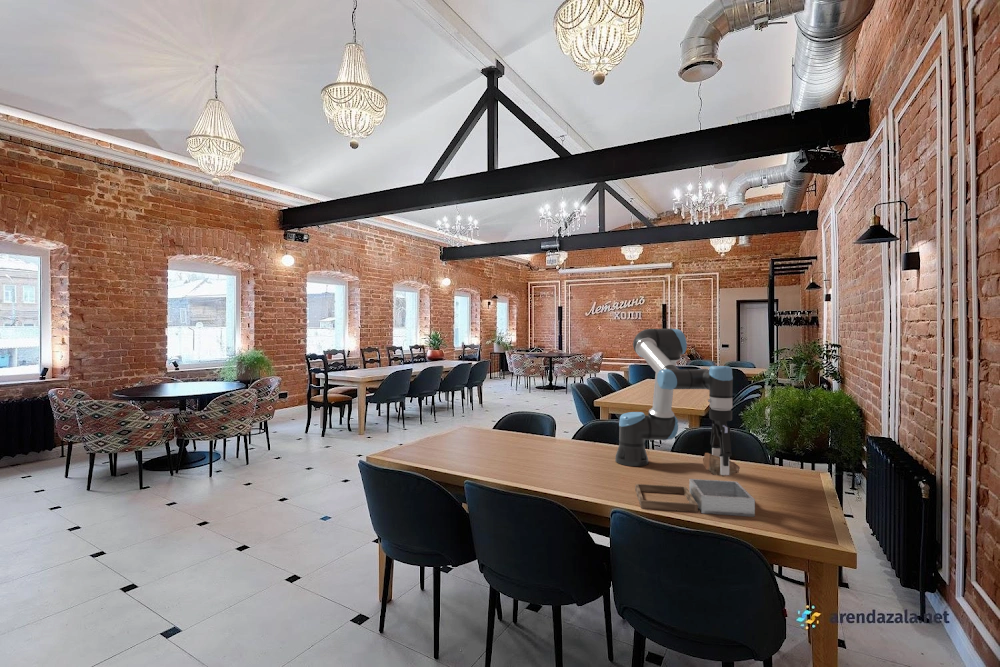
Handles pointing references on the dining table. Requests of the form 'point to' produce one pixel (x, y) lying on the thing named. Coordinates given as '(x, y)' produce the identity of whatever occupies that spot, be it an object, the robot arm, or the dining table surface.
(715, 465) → the stone
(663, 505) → the frame
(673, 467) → the dining table surface
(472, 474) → the dining table surface
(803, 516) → the dining table surface
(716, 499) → the bin
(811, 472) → the dining table surface
